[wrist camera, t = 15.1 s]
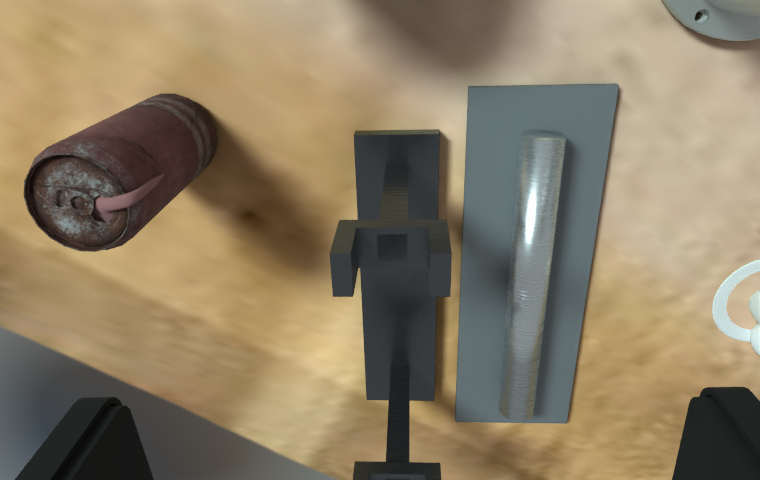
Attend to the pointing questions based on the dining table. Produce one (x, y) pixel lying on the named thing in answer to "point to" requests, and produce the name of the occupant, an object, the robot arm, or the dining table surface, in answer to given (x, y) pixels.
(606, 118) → the rubber mat
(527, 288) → the steel rail
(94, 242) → the can
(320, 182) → the dining table surface
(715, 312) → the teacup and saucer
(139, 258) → the dining table surface
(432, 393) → the hook stands
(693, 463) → the robot arm
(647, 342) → the dining table surface
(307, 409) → the dining table surface
